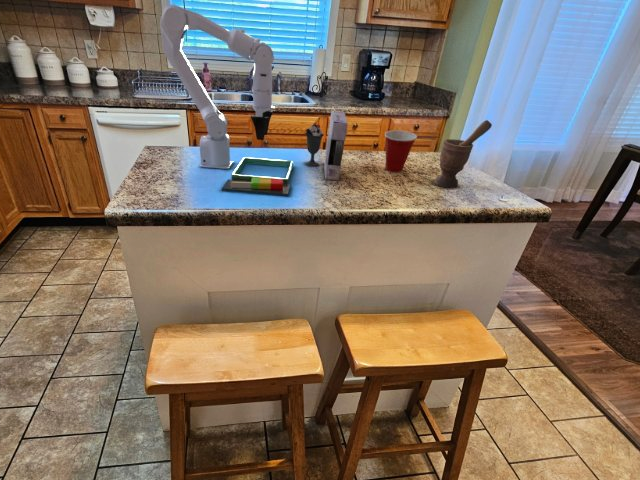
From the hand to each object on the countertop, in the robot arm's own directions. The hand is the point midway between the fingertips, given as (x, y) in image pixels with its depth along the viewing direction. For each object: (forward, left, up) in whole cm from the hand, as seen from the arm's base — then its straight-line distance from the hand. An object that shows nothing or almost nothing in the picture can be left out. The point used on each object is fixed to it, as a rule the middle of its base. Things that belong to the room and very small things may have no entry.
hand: (262, 137), depth 125 cm
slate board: (+2, -23, -9) cm, 25 cm away
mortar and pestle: (+63, -4, -10) cm, 64 cm away
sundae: (+17, +7, -10) cm, 21 cm away
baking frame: (+2, -8, -9) cm, 13 cm away
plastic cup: (+46, +8, -10) cm, 48 cm away
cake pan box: (+24, -1, -10) cm, 26 cm away
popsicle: (+2, -23, -9) cm, 25 cm away
